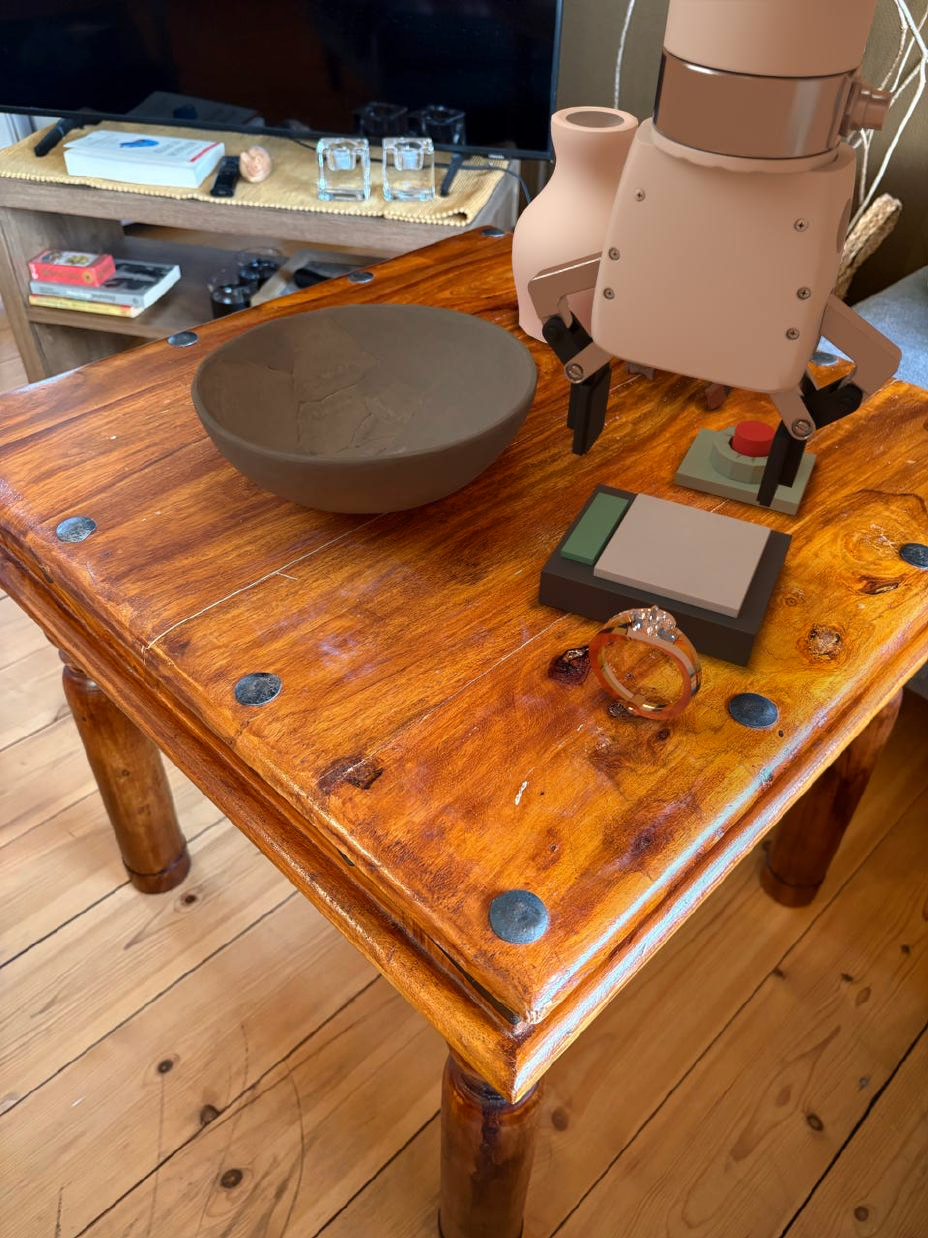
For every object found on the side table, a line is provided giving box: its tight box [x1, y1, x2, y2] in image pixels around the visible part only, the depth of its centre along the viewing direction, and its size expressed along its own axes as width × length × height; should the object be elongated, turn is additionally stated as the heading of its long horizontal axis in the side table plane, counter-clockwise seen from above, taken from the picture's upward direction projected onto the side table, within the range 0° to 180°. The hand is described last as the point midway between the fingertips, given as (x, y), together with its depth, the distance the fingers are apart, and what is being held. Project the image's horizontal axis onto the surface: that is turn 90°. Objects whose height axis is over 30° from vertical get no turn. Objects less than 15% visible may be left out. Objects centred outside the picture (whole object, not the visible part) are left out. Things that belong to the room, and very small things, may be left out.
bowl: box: [190, 302, 538, 514], centre depth 79 cm, size 26×26×10 cm
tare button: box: [732, 420, 776, 458], centre depth 81 cm, size 3×3×2 cm
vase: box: [511, 105, 639, 344], centre depth 98 cm, size 14×14×20 cm
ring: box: [588, 605, 703, 720], centre depth 60 cm, size 7×3×8 cm, turn 51°
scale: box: [537, 483, 793, 668], centre depth 71 cm, size 15×12×4 cm
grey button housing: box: [673, 425, 818, 517], centre depth 82 cm, size 10×8×3 cm
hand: (675, 466), depth 51 cm, fingers open, 9 cm apart
